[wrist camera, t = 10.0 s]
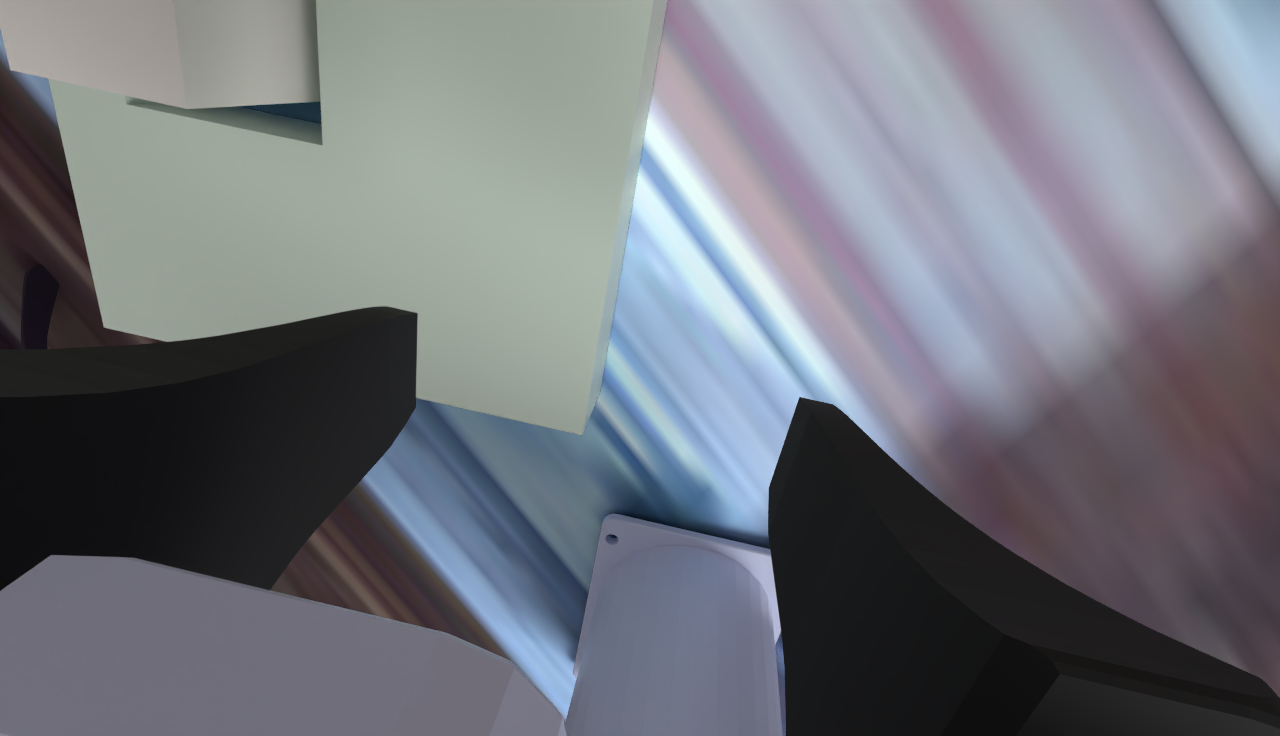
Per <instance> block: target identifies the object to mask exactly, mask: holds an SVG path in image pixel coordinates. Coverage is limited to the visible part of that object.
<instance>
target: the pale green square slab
mask: <svg viewBox="0 0 1280 736" xmlns="http://www.w3.org/2000/svg"><path fill="white" fill-rule="evenodd" d="M667 1H668V0H316V15H317V36H318V57H319V79H320V100H321V122H322V124H318V123H313V122H309V121H304V120H299V119H294V118H290V117H285V116H280V115H275V114H271V113H266V112H261V111H256V110H251V109H247V108H242V107H237V106H233V107H215V108H197V109H184V108H180V107H175V106H171V105H166V104H161V103H157V102H152V101H148V100H143V99H139V98H134V97H130V96H125V95H121V94H116V93H112V92H107V91H103V90H98V89H94V88H89V87H85V86H80V85H75V84H71V83H66V82H62V81H57V80H53V79H48V80H49V85H50V89H51V94H52V98H53V102H54V107H55V111H56V116H57V120H58V125H59V129H60V134H61V138H62V143H63V147H64V152H65V156H66V160H67V165H68V169H69V174H70V178H71V183H72V187H73V192H74V196H75V201H76V205H77V209H78V214H79V218H80V223H81V227H82V232H83V236H84V241H85V245H86V250H87V254H88V258H89V263H90V267H91V272H92V276H93V281H94V285H95V290H96V294H97V299H98V303H99V308H100V312H101V316H102V321H103V325H104V328H109V329H113V330H117V331H122V332H126V333H131V334H135V335H140V336H144V337H148V338H153V339H157V340H162V341H166V342H172V341H181V340H190V339H197V338H205V337H212V336H219V335H225V334H230V333H236V332H242V331H247V330H253V329H258V328H264V327H270V326H275V325H281V324H286V323H291V322H296V321H300V320H305V319H310V318H315V317H320V316H325V315H329V314H334V313H339V312H345V311H350V310H355V309H361V308H368V307H379V306H388V307H392V308H397V309H401V310H406V311H410V312H415V313H418V320H417V369H416V398H419V399H423V400H428V401H432V402H436V403H441V404H445V405H450V406H454V407H459V408H463V409H467V410H472V411H476V412H481V413H485V414H490V415H494V416H498V417H503V418H507V419H512V420H516V421H521V422H525V423H529V424H534V425H538V426H543V427H547V428H552V429H556V430H560V431H565V432H569V433H574V434H578V435H583V433H584V431H585V428H586V426H587V423H588V421H589V418H590V416H591V413H592V411H593V408H594V406H595V404H596V401H597V399H598V396H599V394H600V390H601V385H602V379H603V373H604V367H605V361H606V356H607V350H608V344H609V338H610V332H611V327H612V321H613V315H614V309H615V303H616V298H617V292H618V286H619V280H620V274H621V268H622V263H623V257H624V251H625V245H626V239H627V234H628V228H629V222H630V216H631V210H632V205H633V199H634V193H635V187H636V181H637V176H638V170H639V164H640V158H641V152H642V147H643V141H644V135H645V129H646V123H647V118H648V112H649V106H650V100H651V94H652V89H653V83H654V77H655V71H656V65H657V60H658V54H659V48H660V42H661V36H662V31H663V25H664V19H665V13H666V7H667Z"/></svg>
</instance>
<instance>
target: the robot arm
mask: <svg viewBox="0 0 1280 736" xmlns="http://www.w3.org/2000/svg"><path fill="white" fill-rule="evenodd" d="M417 320H418V313H415V312H410V311H406V310H401V309H397V308H392V307H388V306H379V307H368V308H361V309H355V310H350V311H345V312H339V313H334V314H329V315H325V316H320V317H315V318H310V319H305V320H300V321H296V322H291V323H286V324H281V325H275V326H270V327H264V328H258V329H253V330H247V331H242V332H236V333H230V334H225V335H219V336H212V337H205V338H197V339H190V340H181V341H172V342H162V343H152V344H141V345H128V346H107V347H87V348H67V349H10V350H0V736H782V725H781V713H780V701H779V689H778V677H777V665H776V652H775V645H776V642H777V640H778V637H779V635H780V632H781V634H782V641H783V653H784V664H785V699H786V736H1280V698H1279V697H1278V696H1277V694H1276V693H1275V692H1274V691H1273V690H1272V689H1271V688H1270V687H1269V686H1268V684H1267V683H1265V682H1264V681H1263V680H1262V679H1260V678H1259V677H1257V676H1255V675H1252V674H1250V673H1248V672H1246V671H1243V670H1241V669H1239V668H1237V667H1235V666H1232V665H1230V664H1228V663H1226V662H1223V661H1221V660H1219V659H1217V658H1214V657H1212V656H1210V655H1208V654H1206V653H1203V652H1201V651H1199V650H1197V649H1194V648H1192V647H1190V646H1188V645H1186V644H1183V643H1181V642H1179V641H1177V640H1174V639H1172V638H1170V637H1168V636H1166V635H1163V634H1161V633H1159V632H1157V631H1155V630H1153V629H1150V628H1148V627H1146V626H1144V625H1142V624H1140V623H1138V622H1136V621H1134V620H1133V619H1131V618H1129V617H1127V616H1125V615H1123V614H1121V613H1119V612H1117V611H1115V610H1113V609H1111V608H1109V607H1107V606H1105V605H1103V604H1101V603H1099V602H1098V601H1096V600H1094V599H1092V598H1090V597H1088V596H1086V595H1085V594H1083V593H1081V592H1079V591H1077V590H1075V589H1074V588H1072V587H1070V586H1068V585H1066V584H1065V583H1063V582H1061V581H1059V580H1058V579H1056V578H1054V577H1053V576H1051V575H1049V574H1048V573H1046V572H1044V571H1043V570H1041V569H1039V568H1038V567H1036V566H1034V565H1033V564H1031V563H1029V562H1028V561H1026V560H1025V559H1023V558H1021V557H1020V556H1018V555H1016V554H1015V553H1013V552H1012V551H1010V550H1009V549H1007V548H1005V547H1004V546H1002V545H1001V544H999V543H998V542H996V541H995V540H993V539H992V538H990V537H989V536H988V535H986V534H985V533H983V532H982V531H981V530H979V529H978V528H976V527H975V526H974V525H972V524H971V523H969V522H968V521H967V520H965V519H964V518H962V517H961V516H960V515H958V514H957V513H956V512H954V511H953V510H952V509H950V508H949V507H948V506H947V505H945V504H944V503H943V502H941V501H940V500H939V499H938V498H937V497H935V496H934V495H933V494H932V493H931V492H929V491H928V490H927V489H926V488H925V487H923V486H922V485H921V484H920V483H919V482H918V481H916V480H915V479H914V478H913V477H912V476H911V475H909V474H908V473H907V472H906V471H905V470H904V469H903V468H902V467H901V466H899V465H898V464H897V463H896V462H895V461H894V460H893V459H892V458H891V457H890V456H889V455H888V454H887V453H885V452H884V451H883V450H882V449H881V448H880V447H879V446H878V445H877V444H876V443H875V442H874V441H873V440H872V439H871V438H870V437H869V436H868V435H867V434H866V433H865V432H864V431H863V430H862V429H861V428H859V427H858V426H857V425H856V424H855V423H854V422H853V421H852V420H851V419H850V418H849V417H848V416H847V415H846V414H844V413H843V412H842V411H841V410H840V409H839V408H837V407H836V406H834V405H833V404H828V403H824V402H819V401H815V400H810V399H805V398H801V397H800V398H799V400H798V403H797V406H796V409H795V412H794V415H793V418H792V421H791V424H790V427H789V430H788V433H787V436H786V439H785V442H784V445H783V448H782V451H781V454H780V457H779V460H778V463H777V466H776V469H775V472H774V474H773V477H772V480H771V483H770V486H769V509H768V535H769V543H770V549H767V548H762V547H758V546H754V545H749V544H745V543H741V542H736V541H732V540H728V539H723V538H719V537H715V536H710V535H706V534H702V533H697V532H693V531H689V530H684V529H680V528H676V527H671V526H667V525H663V524H658V523H654V522H650V521H645V520H641V519H637V518H632V517H628V516H623V515H619V514H610V515H607V516H606V517H605V518H604V520H603V523H602V526H601V532H600V537H599V542H598V547H597V552H596V557H595V562H594V567H593V573H592V578H591V583H590V588H589V593H588V598H587V603H586V608H585V614H584V619H583V624H582V629H581V634H580V639H579V644H578V650H577V655H576V660H575V665H574V670H573V674H574V676H575V677H576V678H577V680H576V683H575V687H574V691H573V695H572V699H571V703H570V707H569V711H568V715H567V719H566V723H565V725H564V720H563V716H562V715H561V713H560V712H559V711H558V710H557V709H556V707H555V706H554V705H553V704H552V703H551V702H550V701H549V700H548V699H547V698H546V697H545V696H544V695H543V693H542V692H541V691H540V690H539V689H538V688H537V687H536V686H535V685H534V684H533V683H532V682H531V681H530V680H529V679H528V678H527V677H526V676H525V675H524V674H523V673H522V672H521V671H520V670H519V669H518V668H517V667H516V666H515V665H514V664H513V663H512V662H511V661H510V660H507V659H505V658H503V657H500V656H498V655H496V654H494V653H491V652H489V651H487V650H484V649H482V648H480V647H478V646H475V645H473V644H471V643H468V642H466V641H464V640H462V639H459V638H457V637H455V636H452V635H450V634H448V633H445V632H441V631H436V630H432V629H428V628H424V627H420V626H416V625H411V624H407V623H403V622H399V621H395V620H391V619H387V618H382V617H378V616H374V615H370V614H366V613H362V612H357V611H353V610H349V609H345V608H341V607H337V606H332V605H328V604H324V603H320V602H316V601H312V600H307V599H303V598H299V597H295V596H291V595H287V594H283V593H278V592H274V591H270V589H271V588H272V586H273V585H274V584H275V582H276V581H277V579H278V578H279V577H280V575H281V574H282V573H283V571H284V570H285V568H286V567H287V566H288V564H289V563H290V561H291V560H292V559H293V557H294V556H295V555H296V553H297V552H298V551H299V549H300V548H301V547H302V546H303V545H304V543H305V542H306V541H307V540H308V538H309V537H310V536H311V535H312V534H313V532H314V531H315V530H316V529H317V528H318V527H319V526H320V525H321V523H322V522H323V521H324V520H325V519H326V518H327V517H328V516H329V515H330V514H331V512H332V511H333V510H334V509H335V508H336V507H337V506H338V505H339V504H340V503H341V501H342V500H343V499H344V498H345V497H346V496H347V495H348V494H349V493H350V492H351V490H352V489H353V488H354V487H355V486H356V485H357V484H358V483H359V482H360V481H361V479H362V478H363V477H364V476H365V475H366V474H367V473H368V472H369V470H370V469H371V468H372V467H373V466H374V465H375V464H376V463H377V461H378V460H379V459H380V458H381V457H382V456H383V455H384V453H385V452H386V451H387V450H388V449H389V448H390V446H391V445H392V444H393V442H394V441H395V439H396V438H397V436H398V435H399V433H400V432H401V430H402V429H403V427H404V426H405V424H406V422H407V421H408V419H409V417H410V416H411V414H412V413H413V411H414V409H415V408H416V369H417ZM609 534H613V535H615V536H617V538H611V537H609V536H608V535H609Z"/></svg>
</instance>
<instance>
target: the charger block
mask: <svg viewBox="0 0 1280 736" xmlns="http://www.w3.org/2000/svg"><path fill="white" fill-rule="evenodd" d="M0 29H1V33H2V37H3V41H4V45H5V49H6V54H7V58H8V62H9V66H10V70H12V71H17V72H21V73H26V74H30V75H35V76H39V77H44V78H48V79H53V80H57V81H62V82H66V83H71V84H75V85H80V86H85V87H89V88H94V89H98V90H103V91H107V92H112V93H116V94H121V95H125V96H130V97H134V98H139V99H143V100H148V101H152V102H157V103H161V104H166V105H171V106H175V107H180V108H184V109H197V108H215V107H233V106H251V105H269V104H286V103H304V102H321V100H320V79H319V57H318V36H317V15H316V0H0Z"/></svg>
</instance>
